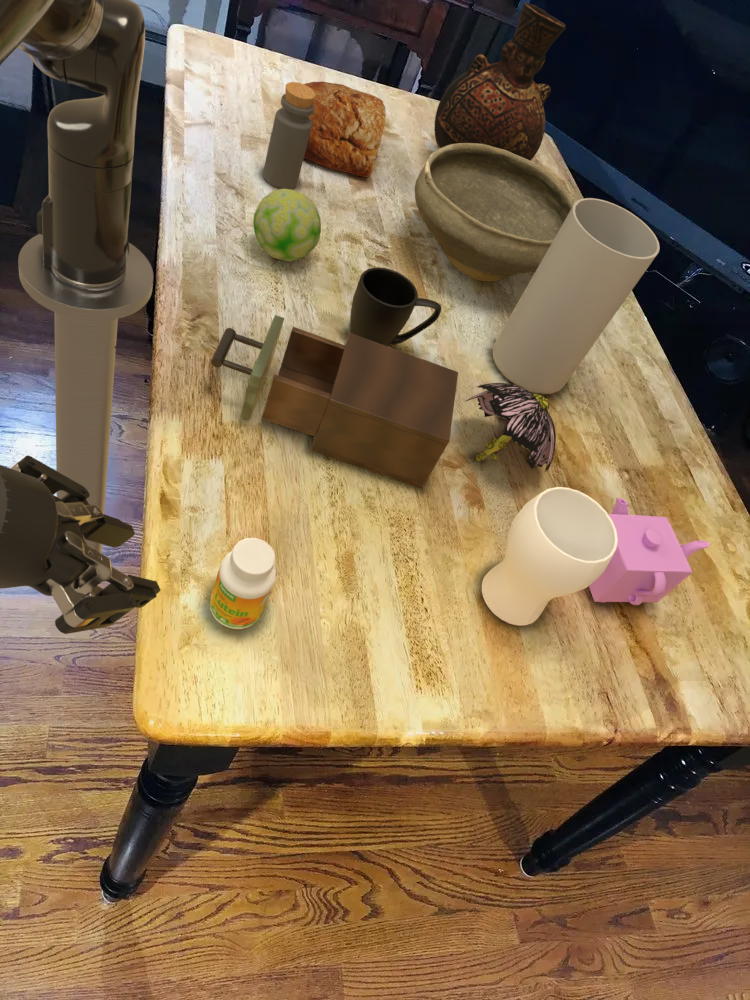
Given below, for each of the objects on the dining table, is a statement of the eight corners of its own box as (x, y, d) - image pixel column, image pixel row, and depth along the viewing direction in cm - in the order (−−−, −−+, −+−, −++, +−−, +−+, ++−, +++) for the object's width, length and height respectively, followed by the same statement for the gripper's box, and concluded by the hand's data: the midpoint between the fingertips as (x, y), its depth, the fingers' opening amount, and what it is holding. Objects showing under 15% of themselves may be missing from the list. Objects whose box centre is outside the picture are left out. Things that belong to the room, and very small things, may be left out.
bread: (368, 185, 134) (386, 131, 127) (267, 152, 130) (280, 94, 123) (373, 131, 147) (390, 79, 140) (281, 99, 143) (293, 44, 136)
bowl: (513, 221, 143) (549, 151, 132) (569, 321, 128) (615, 252, 118) (377, 201, 132) (404, 124, 121) (421, 308, 117) (456, 230, 107)
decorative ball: (261, 276, 110) (275, 216, 102) (238, 233, 114) (250, 172, 107) (322, 275, 114) (340, 217, 107) (298, 233, 119) (314, 175, 111)
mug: (419, 373, 108) (444, 322, 100) (338, 350, 105) (358, 296, 98) (420, 337, 113) (444, 285, 106) (343, 313, 110) (362, 259, 103)
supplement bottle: (199, 616, 75) (214, 564, 68) (223, 575, 78) (239, 521, 71) (249, 639, 75) (269, 590, 68) (270, 597, 79) (291, 546, 71)
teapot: (647, 533, 102) (691, 490, 95) (685, 620, 95) (737, 581, 88) (531, 528, 96) (570, 481, 89) (563, 621, 89) (608, 578, 81)
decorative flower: (606, 439, 96) (523, 405, 88) (552, 508, 101) (468, 482, 93) (550, 381, 106) (471, 346, 98) (503, 447, 111) (424, 418, 103)
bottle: (260, 182, 124) (279, 92, 113) (264, 164, 128) (284, 75, 117) (295, 193, 125) (317, 105, 114) (298, 175, 129) (321, 88, 118)
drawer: (198, 403, 90) (207, 358, 85) (225, 344, 98) (234, 299, 92) (346, 453, 93) (363, 413, 87) (361, 392, 100) (378, 352, 95)
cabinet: (310, 450, 92) (329, 399, 86) (330, 383, 101) (349, 332, 94) (421, 488, 94) (449, 441, 88) (432, 419, 103) (458, 371, 96)
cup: (544, 563, 93) (609, 490, 82) (560, 642, 87) (634, 574, 76) (464, 552, 90) (521, 474, 79) (475, 632, 84) (539, 560, 73)
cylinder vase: (478, 337, 117) (557, 193, 99) (544, 339, 122) (631, 203, 104) (509, 396, 111) (599, 254, 92) (577, 396, 116) (676, 262, 97)
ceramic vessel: (421, 181, 141) (489, 9, 119) (416, 135, 152) (477, -32, 129) (523, 212, 147) (606, 52, 124) (511, 164, 157) (585, 9, 135)
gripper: (36, 578, 42) (209, 613, 57) (-34, 391, 47) (140, 468, 63) (-61, 653, 43) (135, 668, 58) (-117, 462, 49) (74, 521, 64)
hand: (137, 564), depth 60 cm, fingers open, 5 cm apart
